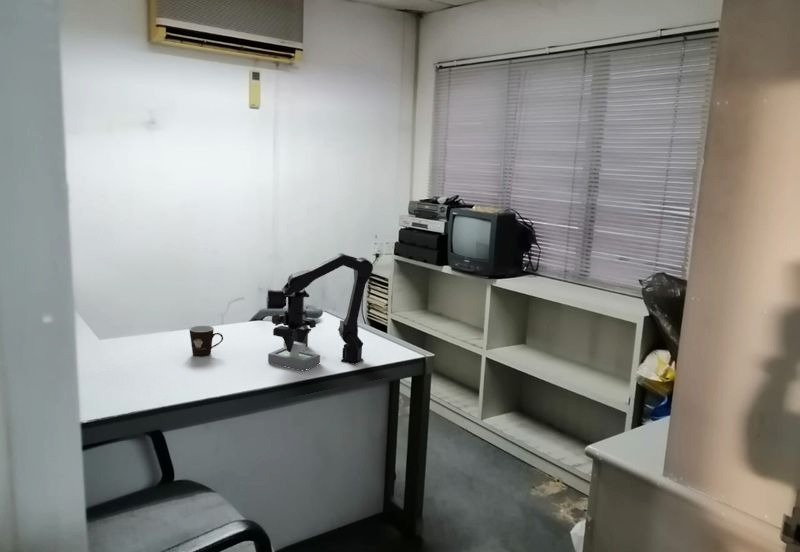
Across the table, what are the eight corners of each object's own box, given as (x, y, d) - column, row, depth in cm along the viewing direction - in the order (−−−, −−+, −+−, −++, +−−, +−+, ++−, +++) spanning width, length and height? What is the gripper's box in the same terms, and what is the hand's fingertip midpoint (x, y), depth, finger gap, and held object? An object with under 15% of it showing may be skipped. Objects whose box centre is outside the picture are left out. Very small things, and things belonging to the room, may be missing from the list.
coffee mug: (184, 355, 224) (184, 329, 222) (201, 349, 232) (201, 324, 230) (207, 361, 219) (207, 334, 217) (224, 355, 227) (224, 329, 225)
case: (319, 363, 224) (320, 354, 223) (304, 371, 215) (304, 362, 214) (284, 355, 230) (284, 346, 230) (268, 362, 222) (268, 353, 221)
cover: (312, 359, 222) (312, 343, 221) (302, 363, 217) (303, 347, 216) (285, 353, 227) (286, 337, 226) (275, 357, 222) (276, 341, 221)
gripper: (292, 300, 230) (291, 339, 233) (261, 310, 214) (260, 352, 217) (317, 305, 226) (315, 345, 228) (286, 315, 209) (285, 358, 212)
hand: (294, 349), depth 222 cm, fingers open, 6 cm apart
